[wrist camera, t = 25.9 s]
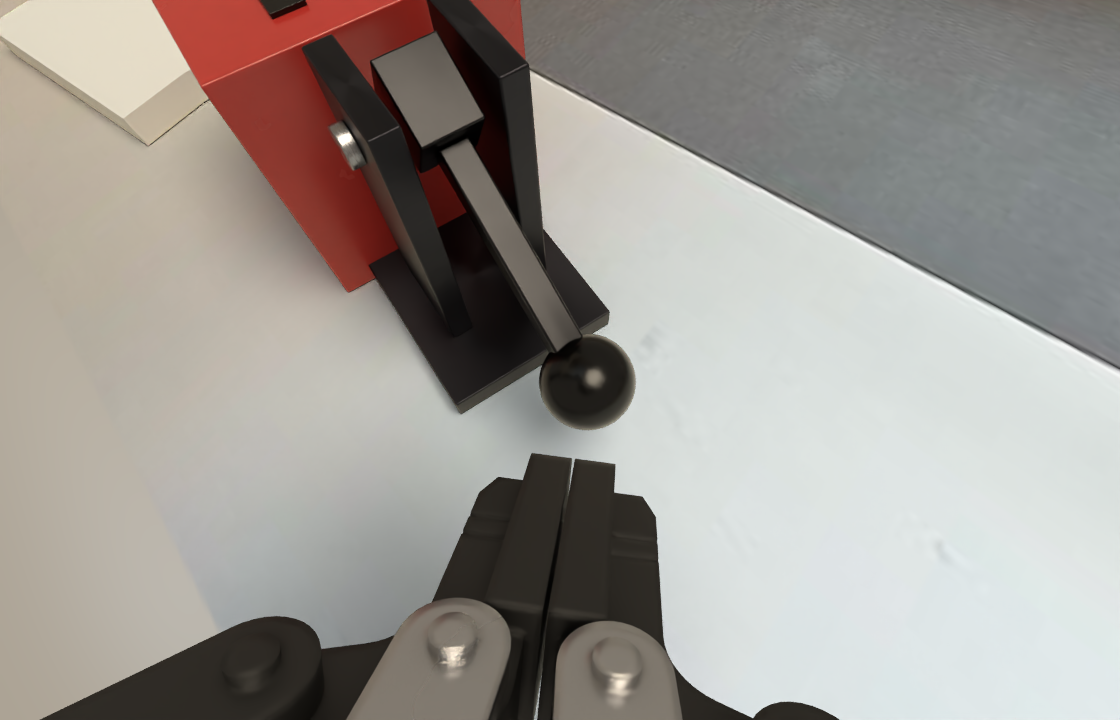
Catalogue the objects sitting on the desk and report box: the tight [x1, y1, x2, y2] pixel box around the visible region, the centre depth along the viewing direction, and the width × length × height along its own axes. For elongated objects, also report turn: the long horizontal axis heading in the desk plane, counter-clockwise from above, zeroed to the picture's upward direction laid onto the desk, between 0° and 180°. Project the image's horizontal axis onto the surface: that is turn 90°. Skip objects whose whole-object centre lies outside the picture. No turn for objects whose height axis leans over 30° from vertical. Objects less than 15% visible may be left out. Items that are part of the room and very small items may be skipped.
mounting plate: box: [0, 0, 209, 145], centre depth 35 cm, size 18×13×2 cm
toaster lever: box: [370, 31, 636, 430], centre depth 18 cm, size 13×3×3 cm, turn 33°
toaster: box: [152, 0, 525, 292], centre depth 25 cm, size 10×11×12 cm
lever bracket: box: [302, 0, 610, 414], centre depth 22 cm, size 10×8×13 cm
